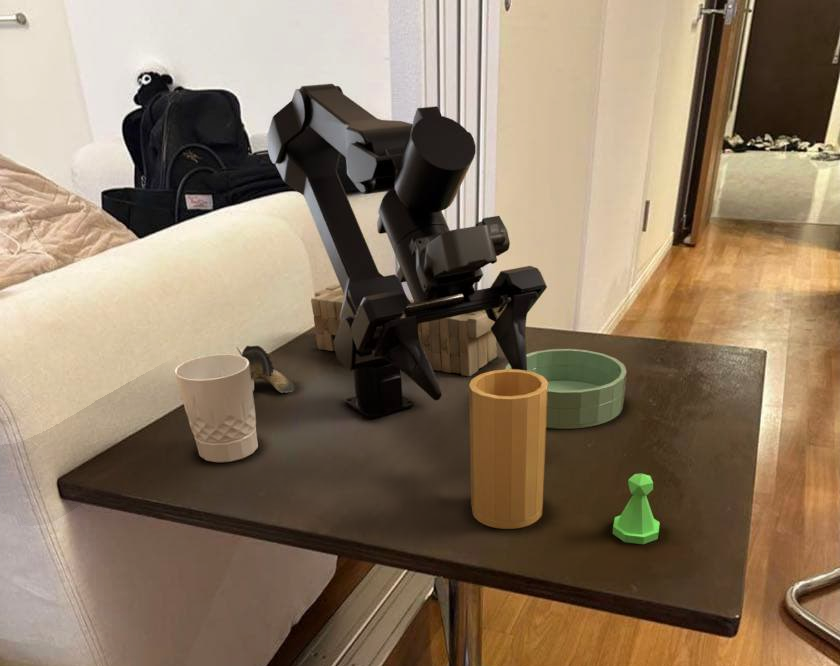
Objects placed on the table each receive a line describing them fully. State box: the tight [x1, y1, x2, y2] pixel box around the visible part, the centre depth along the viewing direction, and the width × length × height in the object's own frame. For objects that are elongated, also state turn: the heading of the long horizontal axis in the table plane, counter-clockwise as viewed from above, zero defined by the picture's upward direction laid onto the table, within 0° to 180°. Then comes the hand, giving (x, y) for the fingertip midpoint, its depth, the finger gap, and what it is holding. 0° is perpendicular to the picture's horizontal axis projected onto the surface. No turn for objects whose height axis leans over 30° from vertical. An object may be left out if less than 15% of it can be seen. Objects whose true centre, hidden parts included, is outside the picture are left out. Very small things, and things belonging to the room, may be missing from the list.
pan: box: [504, 348, 628, 430], centre depth 96 cm, size 14×14×4 cm
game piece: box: [612, 473, 660, 545], centre depth 70 cm, size 4×4×6 cm
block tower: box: [310, 283, 498, 377], centre depth 112 cm, size 8×8×29 cm
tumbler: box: [468, 368, 548, 530], centre depth 73 cm, size 7×7×13 cm
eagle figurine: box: [236, 345, 295, 394], centre depth 104 cm, size 8×7×9 cm
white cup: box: [174, 353, 259, 463], centre depth 88 cm, size 8×8×10 cm
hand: (482, 387), depth 74 cm, fingers open, 9 cm apart
